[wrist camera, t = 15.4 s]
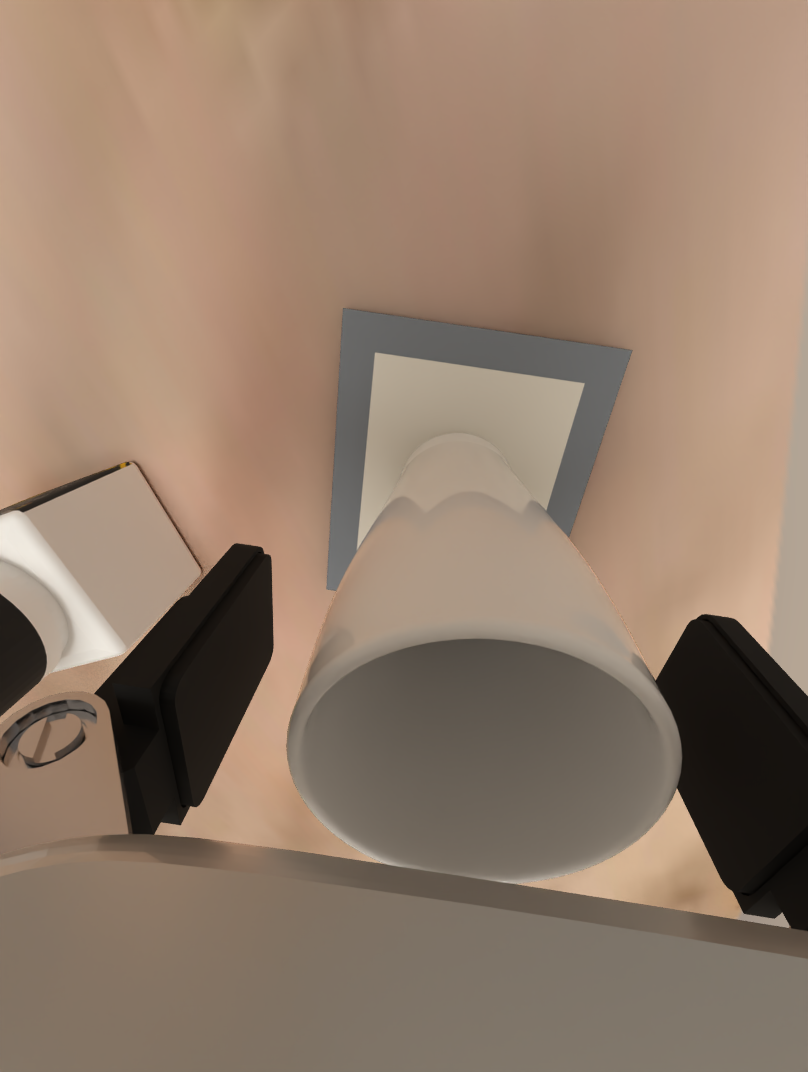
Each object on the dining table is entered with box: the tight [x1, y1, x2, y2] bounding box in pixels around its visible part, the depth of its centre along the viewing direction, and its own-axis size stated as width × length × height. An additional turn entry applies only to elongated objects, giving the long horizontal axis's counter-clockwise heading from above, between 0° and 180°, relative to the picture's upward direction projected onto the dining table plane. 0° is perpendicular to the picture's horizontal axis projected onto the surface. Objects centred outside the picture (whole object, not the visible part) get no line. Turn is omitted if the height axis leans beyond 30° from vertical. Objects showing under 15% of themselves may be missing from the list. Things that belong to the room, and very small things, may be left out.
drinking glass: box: [286, 432, 682, 884], centre depth 14 cm, size 7×7×15 cm
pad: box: [326, 308, 632, 591], centre depth 21 cm, size 14×12×1 cm
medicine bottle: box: [0, 462, 201, 716], centre depth 19 cm, size 7×7×12 cm
